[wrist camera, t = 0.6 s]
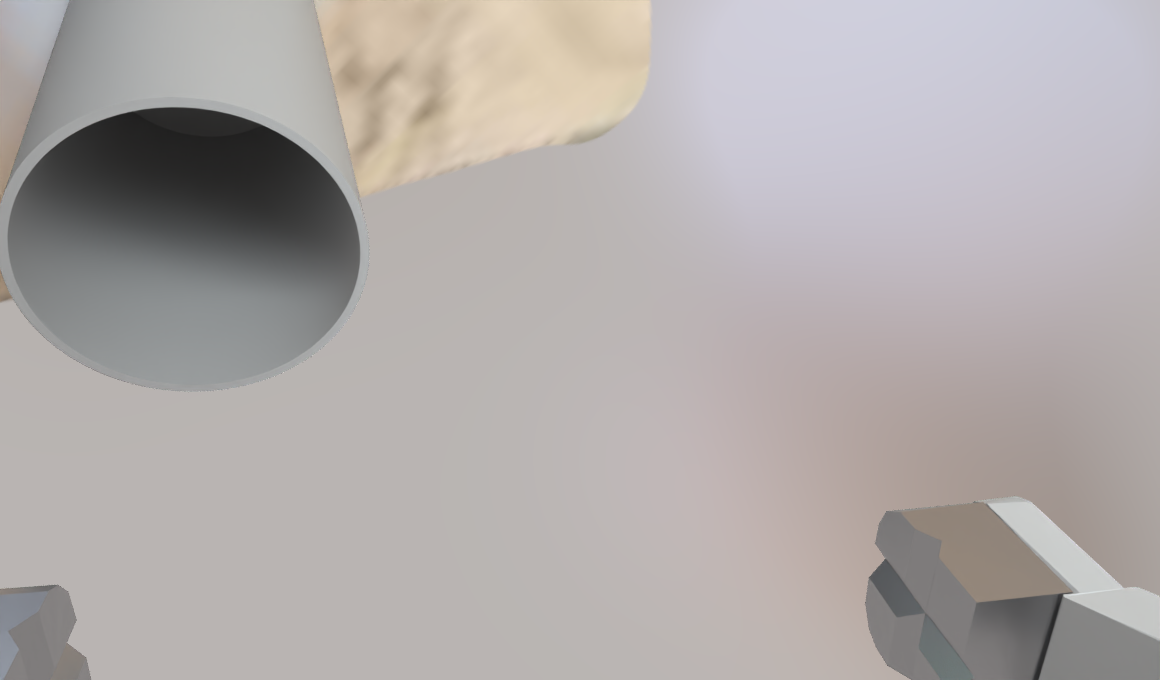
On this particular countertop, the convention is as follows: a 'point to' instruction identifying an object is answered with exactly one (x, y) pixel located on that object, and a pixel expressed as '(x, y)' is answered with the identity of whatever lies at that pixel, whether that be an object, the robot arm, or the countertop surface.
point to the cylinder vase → (185, 194)
